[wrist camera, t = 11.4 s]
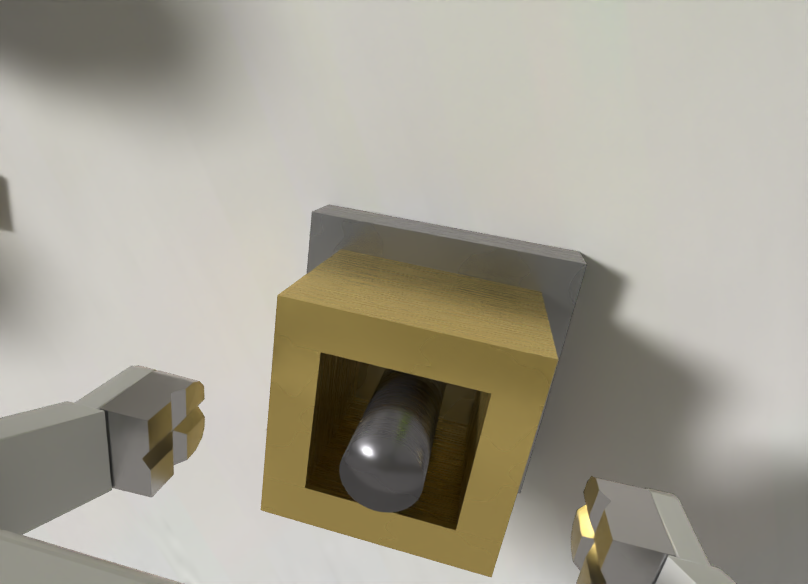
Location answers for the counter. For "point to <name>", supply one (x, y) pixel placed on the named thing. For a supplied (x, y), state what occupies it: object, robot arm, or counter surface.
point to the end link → (419, 355)
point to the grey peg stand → (414, 395)
